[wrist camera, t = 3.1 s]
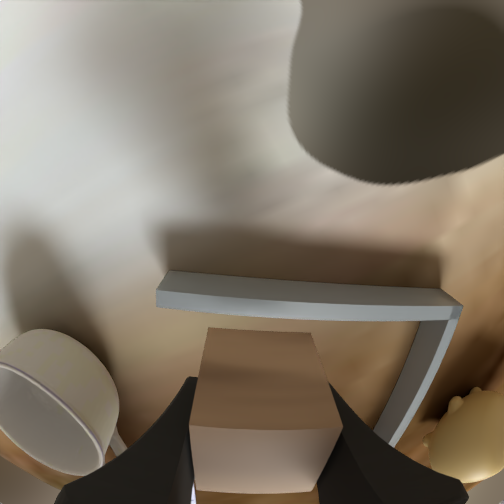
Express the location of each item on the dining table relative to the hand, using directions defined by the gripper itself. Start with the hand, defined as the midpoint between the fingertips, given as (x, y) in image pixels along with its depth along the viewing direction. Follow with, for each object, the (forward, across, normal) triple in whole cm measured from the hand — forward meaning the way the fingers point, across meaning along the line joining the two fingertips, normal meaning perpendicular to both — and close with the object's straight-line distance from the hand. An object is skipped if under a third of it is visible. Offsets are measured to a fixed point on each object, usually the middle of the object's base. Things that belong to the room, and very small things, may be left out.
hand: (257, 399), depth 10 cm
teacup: (+9, +13, +9) cm, 18 cm away
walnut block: (+2, 0, 0) cm, 2 cm away
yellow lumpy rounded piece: (+9, -24, +13) cm, 28 cm away
